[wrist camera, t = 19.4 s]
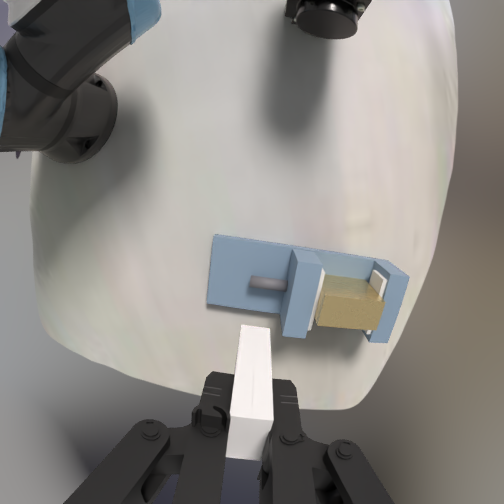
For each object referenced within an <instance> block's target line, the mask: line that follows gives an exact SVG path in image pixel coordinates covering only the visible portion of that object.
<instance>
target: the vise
mask: <svg viewBox="0 0 504 504" xmlns="http://www.w3.org/2000/svg"><path fill="white" fill-rule="evenodd" d="M292 249H300V250H306V251H313V252H315V254H316V255H317V257H318V258H319V260H320V261H321V263H322V264H323V267H322V268H323V270H324V271H325V274H328V275H335V276H342V277H349V278H357V279H364V280H366V281H367V282H368V283H369V284H370V285H371V286H372V287H373V288H374V290H375V291H376V292H377V293H378V294H379V295H380V296H381V297H382V298H383V300H384V301H385V302H386V303H385V306H384V309H383V312H382V315H381V318H380V321H379V324H378V327H377V330H362V331H363V333H364V334H365V336H366V338H367V340H368V341H369V342H373V343H388V340H389V338H390V335H391V332H392V330H393V327H394V324H395V321H396V318H397V316H398V313H399V310H400V307H401V304H402V301H403V297H404V294H405V291H406V288H407V284H408V281H409V276H408V275H407V274H405V273H404V272H403V271H401V270H400V269H399V268H397V267H396V266H395V265H393V264H392V263H391V262H389V261H388V260H382V259H376V258H370V257H363V256H357V255H351V254H345V253H338V252H332V251H325V250H319V249H312V248H306V247H299V246H293V245H286V244H279V243H273V242H266V241H259V240H252V239H246V238H239V237H232V236H225V235H218V234H215V235H214V238H213V246H212V255H211V265H210V274H209V284H208V295H207V303H208V304H215V305H221V306H227V307H234V308H241V309H247V310H255V311H262V312H269V313H277V314H280V311H281V306H282V302H283V297H284V292H282V291H274V290H267V289H260V288H253V287H249V285H250V278H251V275H253V276H260V277H267V278H274V279H281V280H287V276H288V271H289V266H290V260H291V255H292ZM314 318H315V317H314Z"/></svg>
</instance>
